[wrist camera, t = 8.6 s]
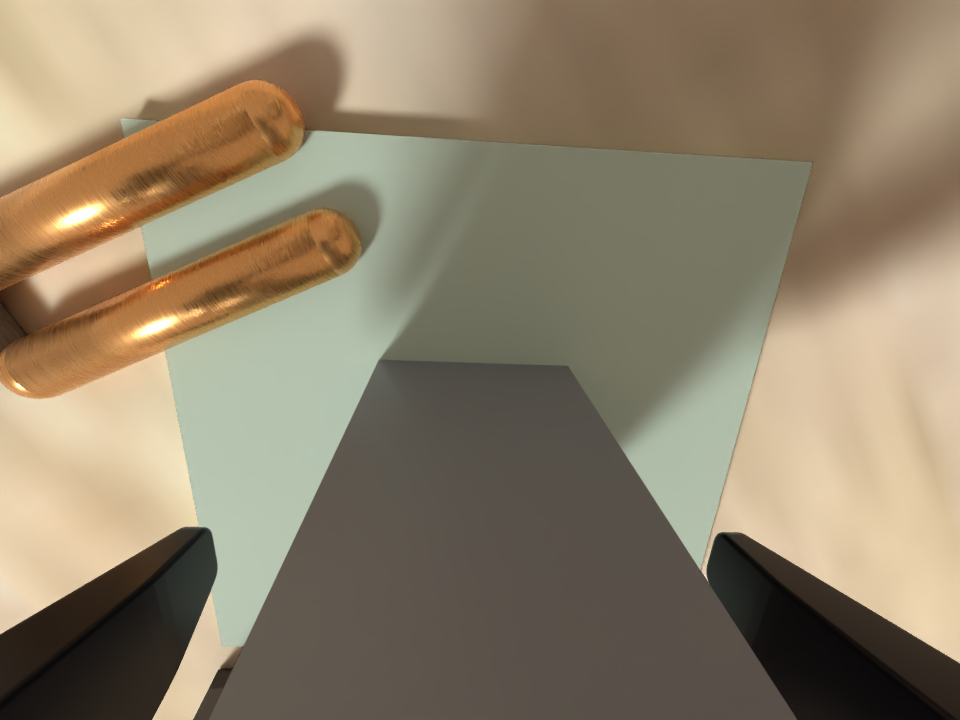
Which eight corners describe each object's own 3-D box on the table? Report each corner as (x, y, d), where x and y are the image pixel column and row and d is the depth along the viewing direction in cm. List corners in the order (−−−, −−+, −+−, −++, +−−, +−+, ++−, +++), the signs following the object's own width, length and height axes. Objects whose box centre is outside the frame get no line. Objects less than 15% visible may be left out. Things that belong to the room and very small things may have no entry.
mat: (799, 163, 10) (813, 161, 10) (674, 632, 15) (680, 643, 14) (133, 121, 9) (119, 118, 9) (228, 634, 14) (222, 646, 13)
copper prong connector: (291, 76, 9) (263, 56, 8) (378, 257, 10) (366, 266, 9) (-236, 326, 10) (-340, 346, 9) (-100, 461, 11) (-173, 496, 10)
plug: (567, 365, 11) (984, 1005, 2) (548, 519, 12) (754, 1249, 4) (378, 359, 11) (47, 1063, 2) (382, 517, 12) (202, 1301, 4)
